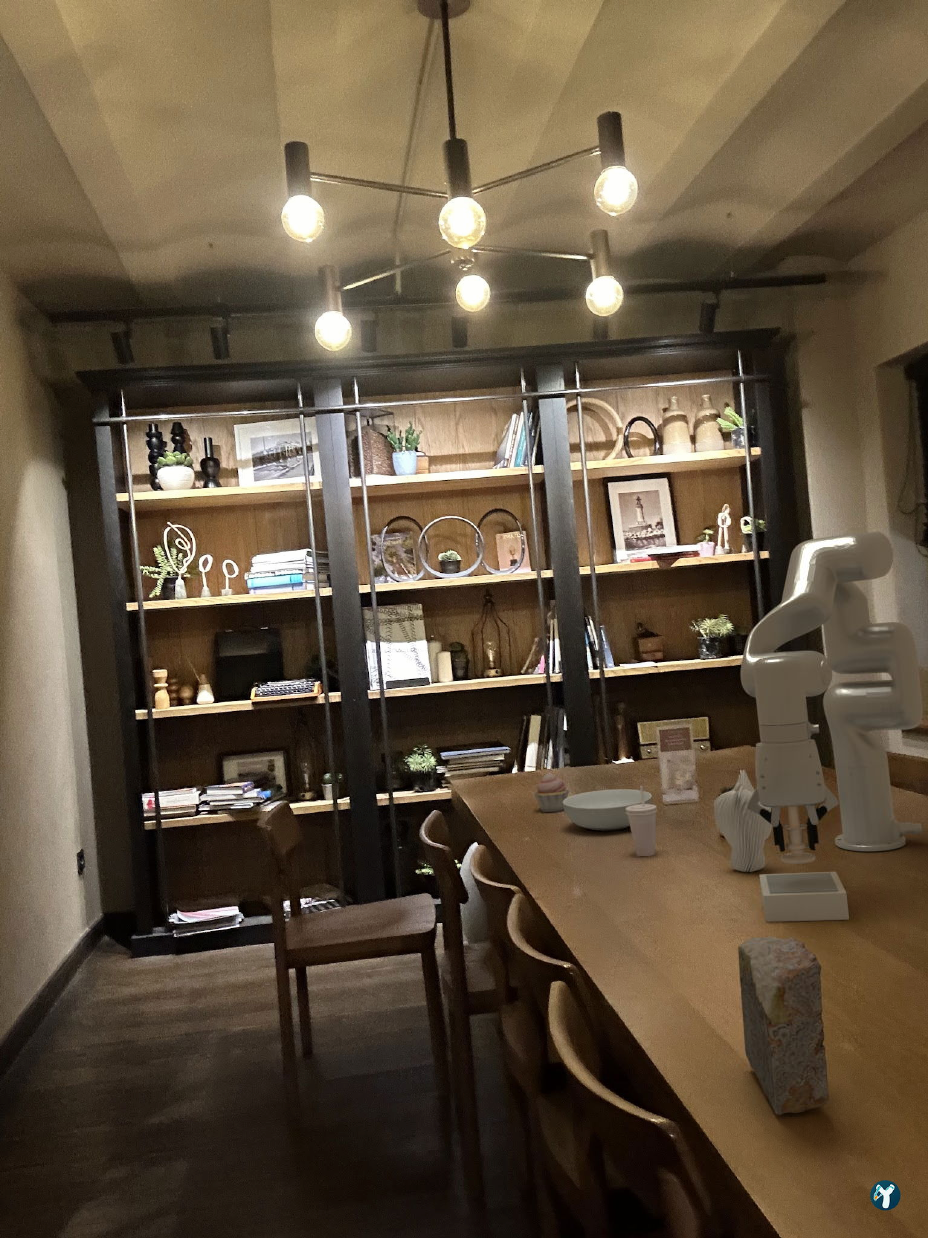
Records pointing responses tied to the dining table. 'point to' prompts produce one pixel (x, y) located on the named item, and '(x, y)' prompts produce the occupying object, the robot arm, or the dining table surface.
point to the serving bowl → (603, 808)
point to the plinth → (803, 897)
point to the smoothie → (643, 826)
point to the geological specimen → (784, 1022)
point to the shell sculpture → (742, 826)
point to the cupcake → (551, 793)
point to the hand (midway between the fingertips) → (796, 848)
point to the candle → (796, 840)
